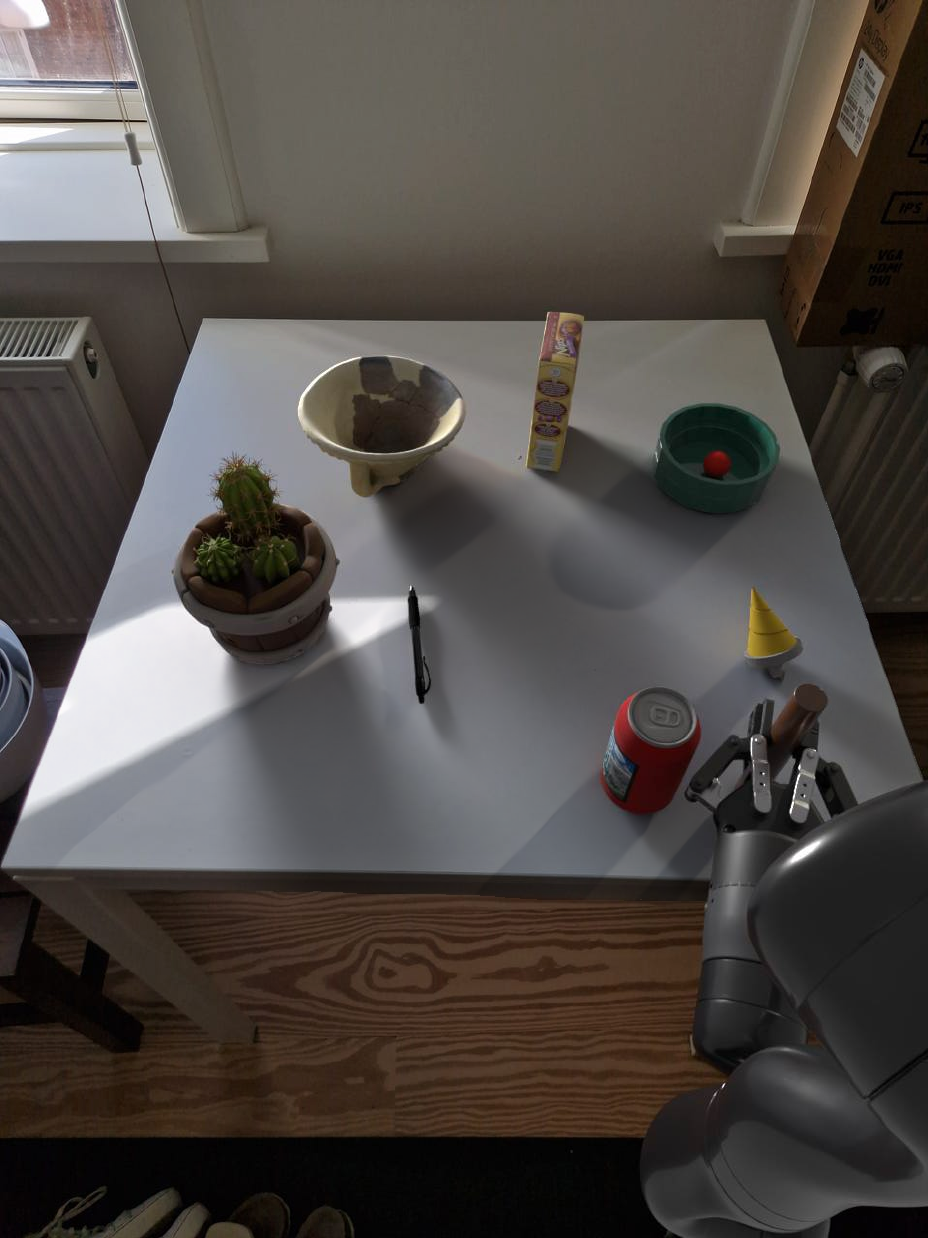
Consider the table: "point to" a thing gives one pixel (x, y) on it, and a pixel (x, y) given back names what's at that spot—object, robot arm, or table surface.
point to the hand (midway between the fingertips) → (785, 709)
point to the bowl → (381, 417)
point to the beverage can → (650, 749)
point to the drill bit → (769, 639)
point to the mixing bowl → (706, 432)
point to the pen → (417, 647)
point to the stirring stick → (793, 726)
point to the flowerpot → (257, 570)
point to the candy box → (554, 390)
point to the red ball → (716, 464)
